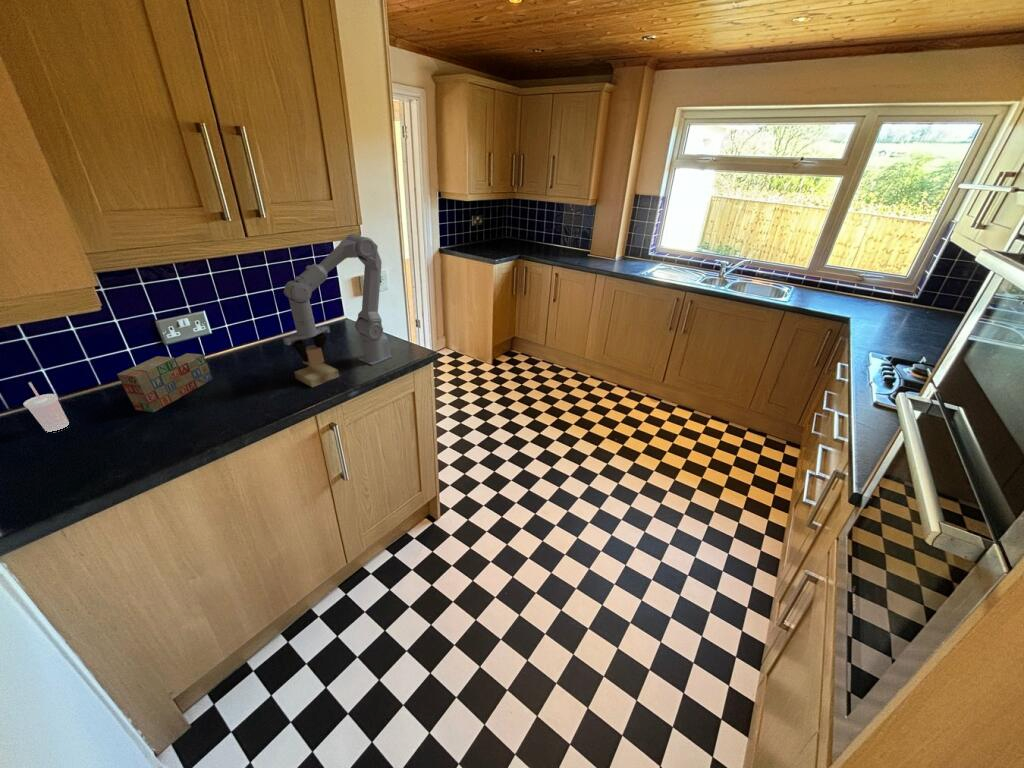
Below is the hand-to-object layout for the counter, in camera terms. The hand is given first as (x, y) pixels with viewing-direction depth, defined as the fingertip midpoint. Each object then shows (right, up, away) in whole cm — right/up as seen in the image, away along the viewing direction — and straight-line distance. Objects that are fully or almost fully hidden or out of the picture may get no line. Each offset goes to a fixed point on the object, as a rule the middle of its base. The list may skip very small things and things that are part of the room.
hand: (313, 358), depth 134 cm
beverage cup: (-57, -21, -25) cm, 66 cm away
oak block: (0, -7, +4) cm, 8 cm away
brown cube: (0, -1, +1) cm, 2 cm away
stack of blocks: (-39, -12, -8) cm, 42 cm away
